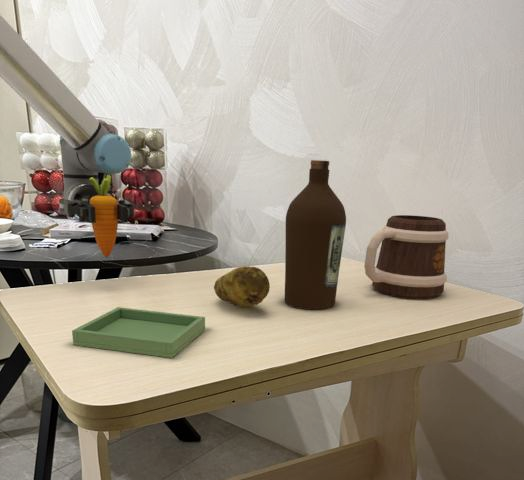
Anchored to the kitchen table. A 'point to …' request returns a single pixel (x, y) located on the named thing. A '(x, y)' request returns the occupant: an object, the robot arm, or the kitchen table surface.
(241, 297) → the potato
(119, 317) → the green tray
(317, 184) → the olive oil
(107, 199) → the carrot
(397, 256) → the mug
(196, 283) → the kitchen table surface
